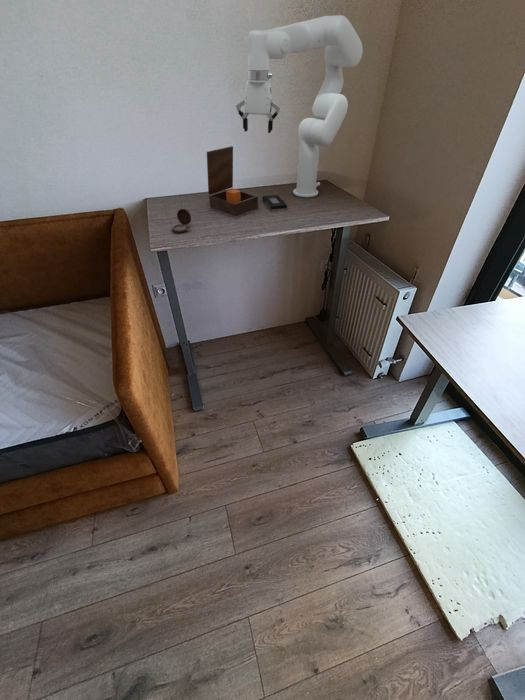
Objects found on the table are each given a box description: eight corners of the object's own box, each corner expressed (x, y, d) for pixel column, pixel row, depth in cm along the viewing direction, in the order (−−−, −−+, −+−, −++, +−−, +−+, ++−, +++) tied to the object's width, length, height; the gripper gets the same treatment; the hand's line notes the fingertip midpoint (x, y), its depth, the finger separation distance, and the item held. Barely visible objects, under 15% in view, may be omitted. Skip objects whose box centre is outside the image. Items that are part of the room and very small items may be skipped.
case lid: (233, 146, 144) (224, 143, 146) (207, 152, 136) (199, 148, 138) (232, 187, 156) (225, 184, 158) (209, 194, 148) (201, 191, 150)
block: (234, 204, 154) (233, 188, 150) (241, 207, 152) (240, 191, 147) (227, 207, 152) (226, 191, 147) (233, 209, 150) (233, 193, 145)
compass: (169, 232, 133) (165, 213, 128) (180, 224, 139) (177, 206, 134) (186, 235, 131) (183, 216, 126) (197, 228, 136) (194, 209, 131)
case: (258, 209, 152) (257, 196, 148) (235, 218, 144) (234, 204, 141) (233, 200, 160) (232, 188, 157) (210, 208, 152) (209, 195, 149)
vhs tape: (270, 211, 151) (271, 206, 149) (262, 200, 161) (262, 196, 160) (286, 209, 152) (286, 205, 151) (277, 199, 162) (277, 194, 161)
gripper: (283, 77, 124) (280, 131, 136) (238, 75, 127) (239, 129, 138) (279, 78, 119) (277, 134, 130) (232, 76, 121) (234, 132, 132)
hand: (257, 131), depth 134 cm, fingers open, 9 cm apart
